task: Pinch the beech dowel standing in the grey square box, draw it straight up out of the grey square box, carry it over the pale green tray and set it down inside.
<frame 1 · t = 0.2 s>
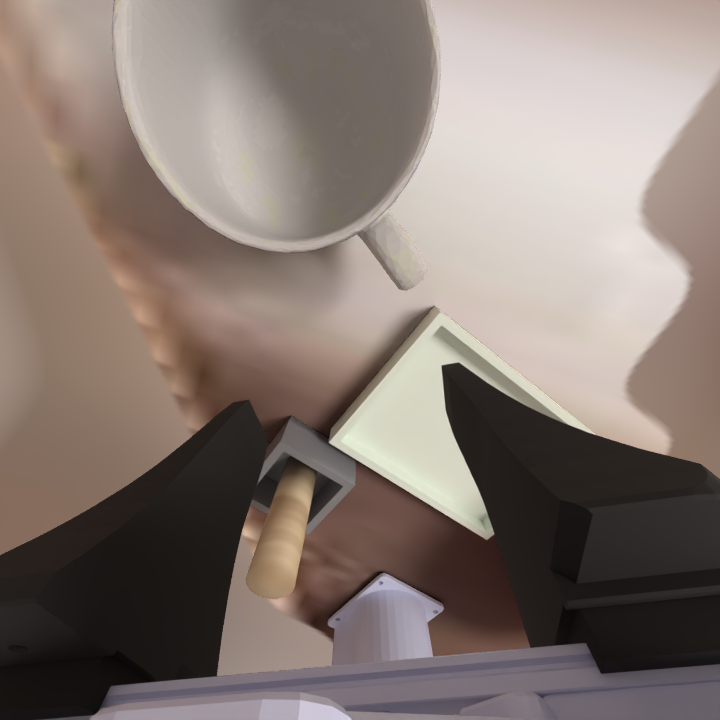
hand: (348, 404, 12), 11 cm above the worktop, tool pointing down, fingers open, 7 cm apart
tray: (460, 429, 24), on the worktop
dowel: (301, 466, 25), point 1 cm above the worktop, touching grey square box
grey square box: (302, 461, 26), on the worktop
teacup: (328, 175, 18), on the worktop
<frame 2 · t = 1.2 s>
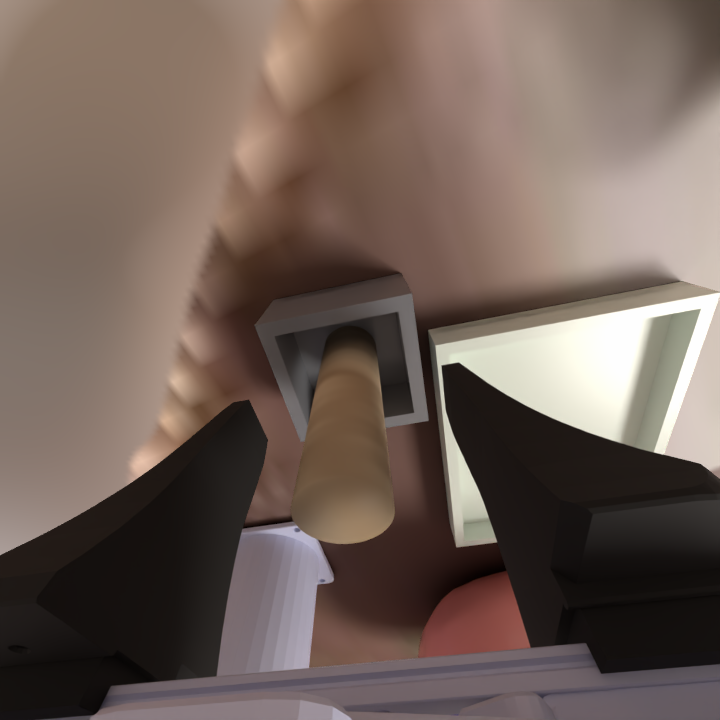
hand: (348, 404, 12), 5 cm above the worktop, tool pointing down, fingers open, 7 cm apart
tray: (539, 429, 19), on the worktop
dowel: (350, 349, 16), point 1 cm above the worktop, touching grey square box
cell model: (496, 589, 29), on the worktop
grey square box: (350, 344, 16), on the worktop
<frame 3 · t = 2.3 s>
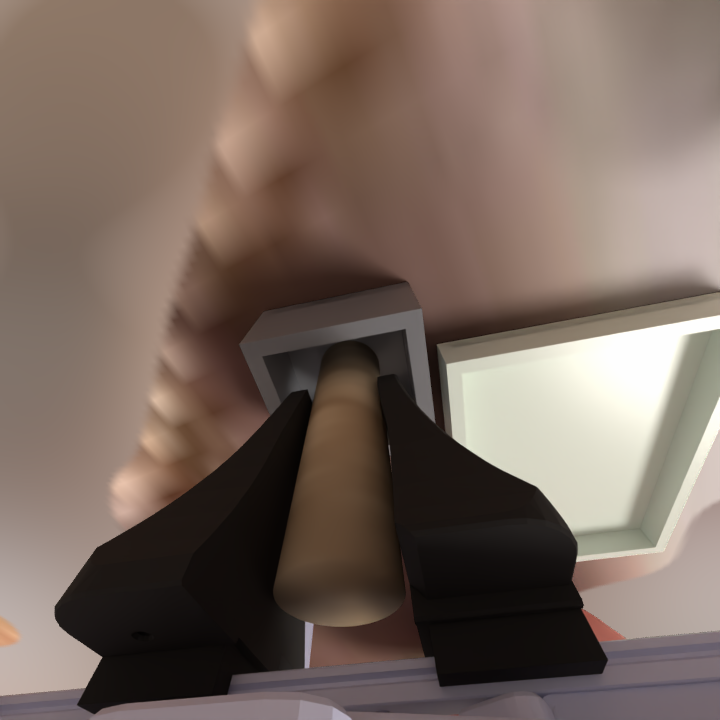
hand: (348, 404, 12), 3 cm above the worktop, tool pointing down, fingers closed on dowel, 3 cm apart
tray: (557, 450, 17), on the worktop
dowel: (350, 366, 14), point 1 cm above the worktop, touching grey square box, gripper
cell model: (504, 611, 27), on the worktop
grey square box: (350, 360, 15), on the worktop
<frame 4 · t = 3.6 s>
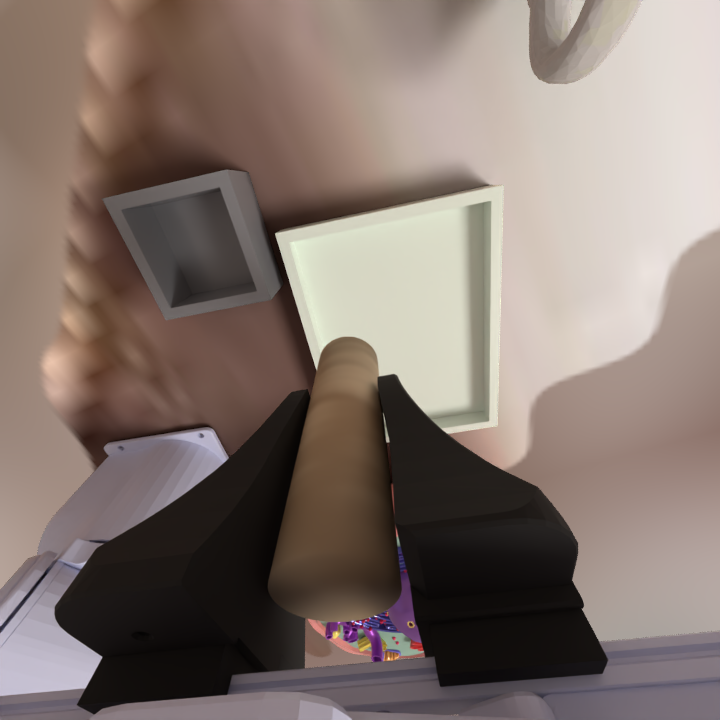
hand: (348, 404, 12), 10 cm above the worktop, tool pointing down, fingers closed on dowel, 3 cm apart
tray: (401, 334, 22), on the worktop
dowel: (348, 363, 14), point 8 cm above the worktop, touching gripper
cell model: (400, 508, 31), on the worktop
grey square box: (217, 243, 19), on the worktop
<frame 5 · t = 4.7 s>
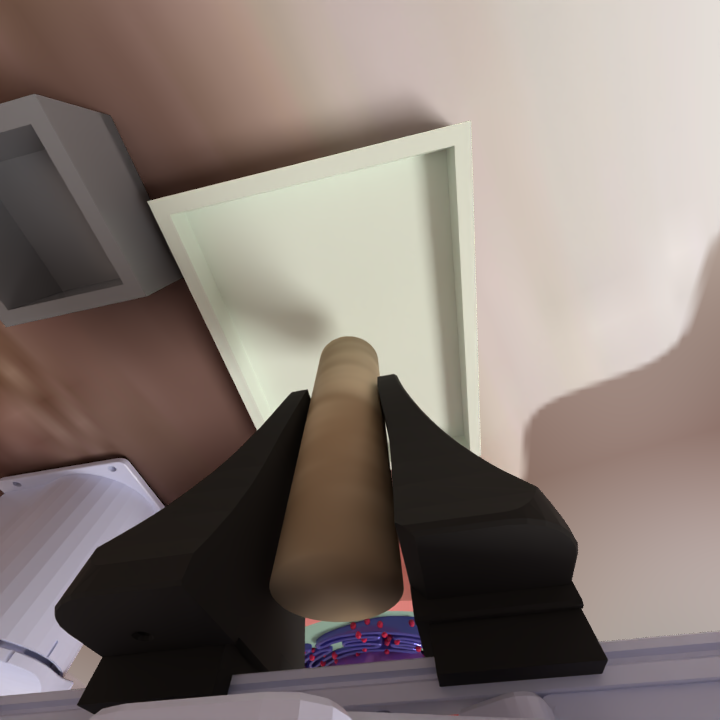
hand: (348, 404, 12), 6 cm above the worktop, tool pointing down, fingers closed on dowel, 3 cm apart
tray: (350, 339, 17), on the worktop
dowel: (349, 362, 14), point 3 cm above the worktop, touching gripper
cell model: (371, 546, 26), on the worktop
grey square box: (87, 220, 14), on the worktop
when the fingers open (5 cm above the worktop, at t = 5.2 s): dowel drops 1 cm, resting on tray.
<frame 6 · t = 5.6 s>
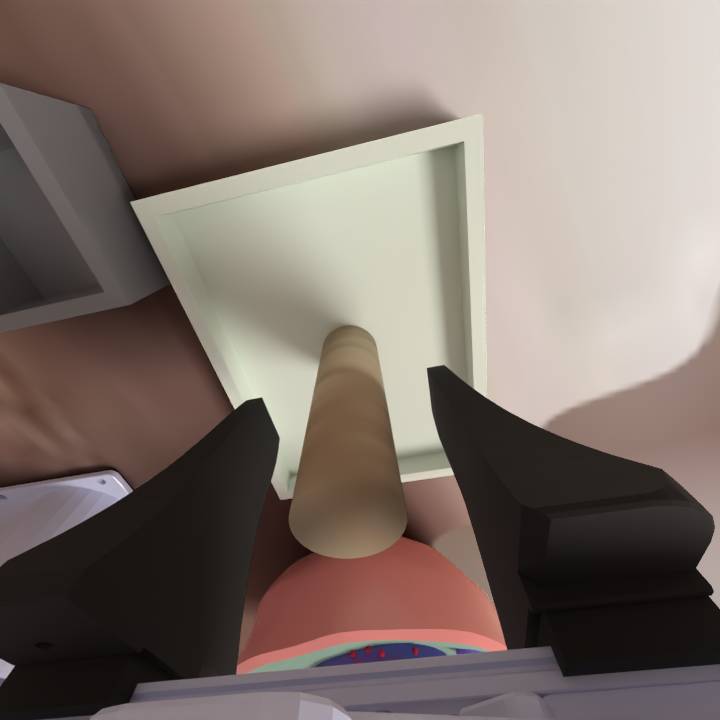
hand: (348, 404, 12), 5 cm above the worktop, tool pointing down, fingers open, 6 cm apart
tray: (351, 348, 16), on the worktop
dowel: (349, 351, 15), point 1 cm above the worktop, touching tray
cell model: (372, 559, 25), on the worktop
grey square box: (68, 222, 13), on the worktop
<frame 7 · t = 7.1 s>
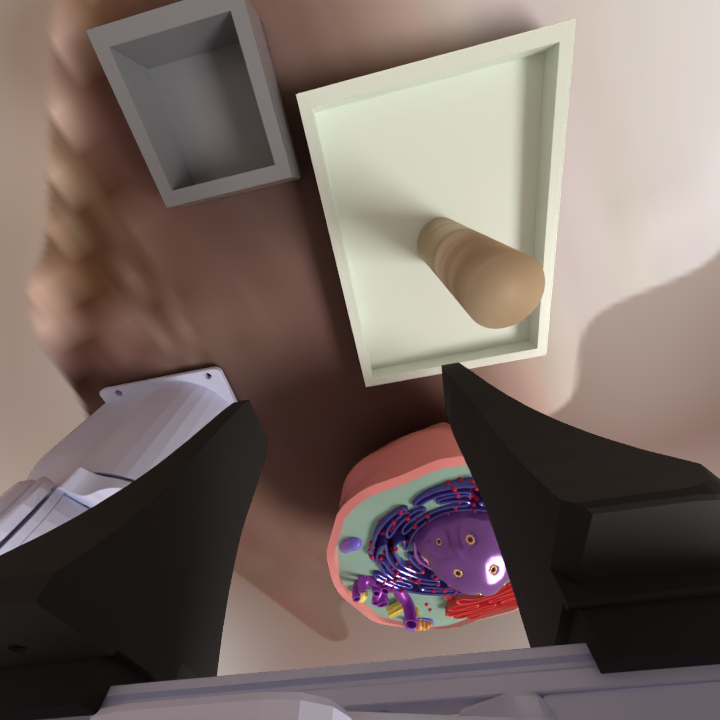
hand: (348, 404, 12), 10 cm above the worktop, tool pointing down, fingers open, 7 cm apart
tray: (437, 243, 19), on the worktop
dowel: (439, 242, 18), point 1 cm above the worktop, touching tray
cell model: (427, 466, 28), on the worktop
grey square box: (226, 123, 16), on the worktop
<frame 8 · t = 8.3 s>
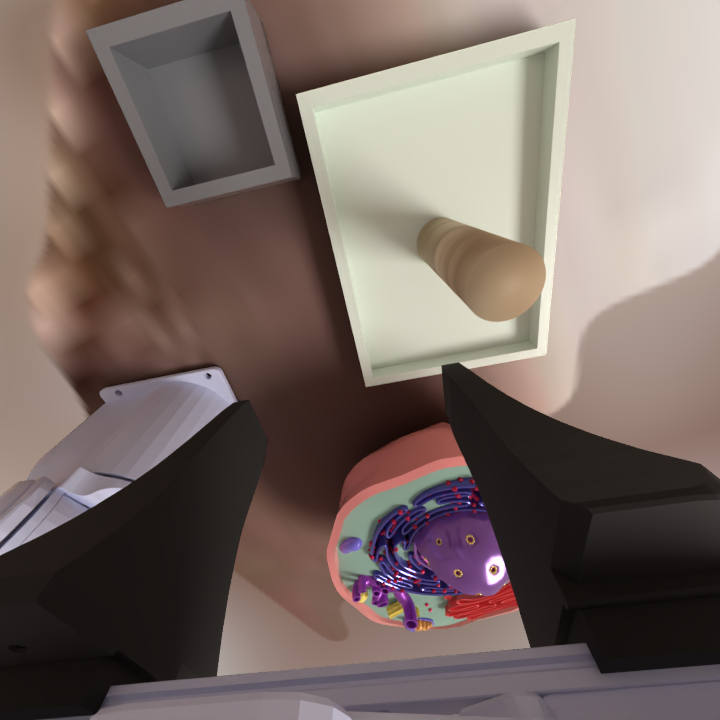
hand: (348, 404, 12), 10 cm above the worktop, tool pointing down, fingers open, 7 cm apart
tray: (437, 243, 19), on the worktop
dowel: (439, 241, 18), point 1 cm above the worktop, touching tray
cell model: (427, 466, 28), on the worktop
grey square box: (226, 123, 16), on the worktop
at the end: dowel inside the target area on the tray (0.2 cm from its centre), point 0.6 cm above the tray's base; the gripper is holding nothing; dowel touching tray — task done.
